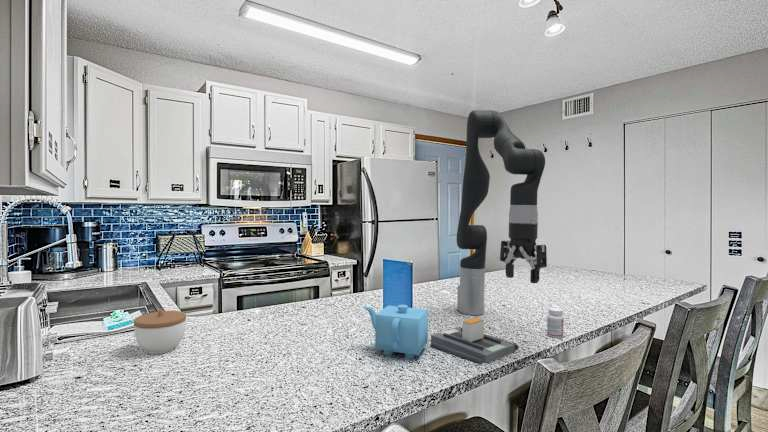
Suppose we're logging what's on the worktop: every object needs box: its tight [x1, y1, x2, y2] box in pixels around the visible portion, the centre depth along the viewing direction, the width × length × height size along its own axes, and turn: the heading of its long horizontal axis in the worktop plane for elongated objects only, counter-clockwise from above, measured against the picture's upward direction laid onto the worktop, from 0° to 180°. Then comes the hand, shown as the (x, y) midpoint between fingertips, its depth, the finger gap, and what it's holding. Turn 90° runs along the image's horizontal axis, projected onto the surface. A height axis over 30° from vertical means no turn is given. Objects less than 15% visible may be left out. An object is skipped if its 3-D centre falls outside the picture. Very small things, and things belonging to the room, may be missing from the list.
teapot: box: [362, 304, 429, 360], centre depth 112 cm, size 18×16×13 cm
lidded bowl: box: [133, 308, 187, 355], centre depth 110 cm, size 13×13×11 cm
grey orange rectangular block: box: [461, 317, 485, 342], centre depth 115 cm, size 3×6×5 cm, turn 129°
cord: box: [430, 342, 483, 364], centre depth 109 cm, size 17×1×1 cm, turn 44°
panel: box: [430, 326, 515, 364], centre depth 115 cm, size 20×13×3 cm, turn 39°
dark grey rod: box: [484, 333, 520, 350], centre depth 121 cm, size 19×1×1 cm, turn 39°
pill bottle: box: [546, 307, 565, 339], centre depth 126 cm, size 5×5×8 cm
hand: (521, 280), depth 110 cm, fingers open, 8 cm apart
